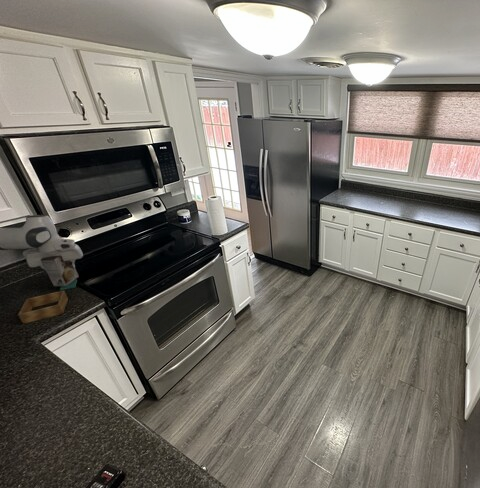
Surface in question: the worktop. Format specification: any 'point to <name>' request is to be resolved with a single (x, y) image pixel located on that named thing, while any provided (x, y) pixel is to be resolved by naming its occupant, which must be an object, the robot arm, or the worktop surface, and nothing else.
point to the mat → (69, 285)
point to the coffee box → (59, 270)
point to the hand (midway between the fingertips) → (61, 269)
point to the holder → (30, 316)
